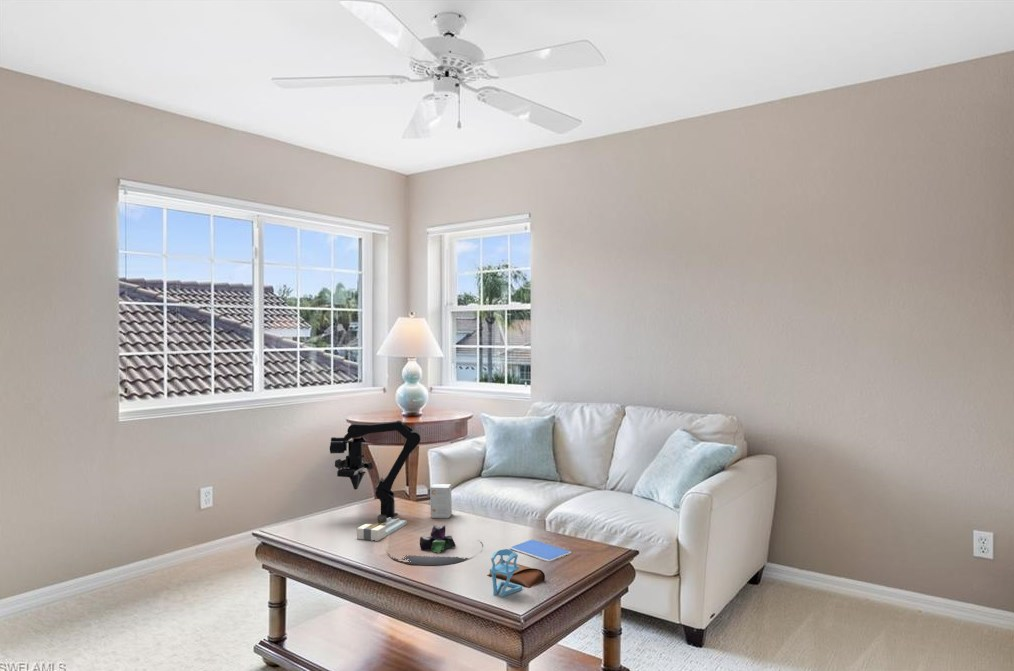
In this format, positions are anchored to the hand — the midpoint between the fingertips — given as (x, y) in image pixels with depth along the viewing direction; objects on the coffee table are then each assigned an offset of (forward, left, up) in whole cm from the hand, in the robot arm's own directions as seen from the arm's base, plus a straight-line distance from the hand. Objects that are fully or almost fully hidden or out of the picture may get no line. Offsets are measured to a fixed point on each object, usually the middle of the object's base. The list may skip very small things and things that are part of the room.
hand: (355, 489), depth 269 cm
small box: (-13, +34, -12) cm, 38 cm away
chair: (+53, +87, -12) cm, 103 cm away
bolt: (+18, +21, -10) cm, 29 cm away
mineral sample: (+25, +50, -13) cm, 57 cm away
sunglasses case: (+42, +86, -13) cm, 97 cm away
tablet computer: (+16, +87, -13) cm, 89 cm away
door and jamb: (+13, +21, -12) cm, 27 cm away
